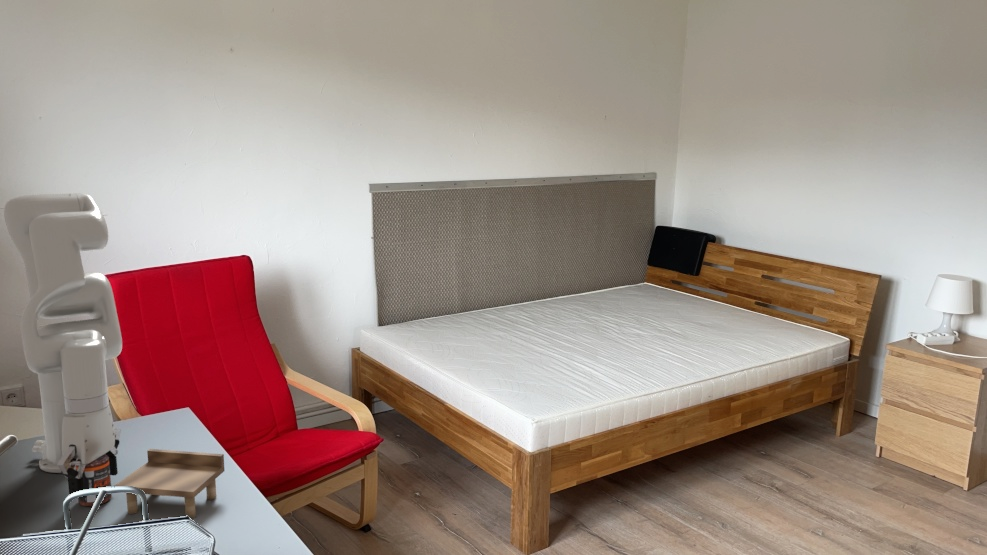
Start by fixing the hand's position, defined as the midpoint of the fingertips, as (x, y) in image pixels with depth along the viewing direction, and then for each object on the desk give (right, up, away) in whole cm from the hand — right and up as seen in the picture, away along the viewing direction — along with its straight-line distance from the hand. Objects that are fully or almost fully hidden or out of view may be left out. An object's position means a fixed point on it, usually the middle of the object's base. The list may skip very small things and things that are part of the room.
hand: (94, 484), depth 153 cm
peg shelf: (+16, -4, -1) cm, 16 cm away
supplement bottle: (0, -4, +1) cm, 4 cm away
